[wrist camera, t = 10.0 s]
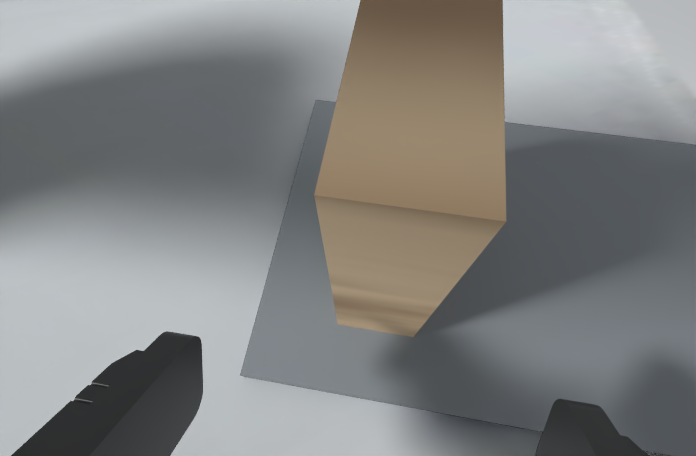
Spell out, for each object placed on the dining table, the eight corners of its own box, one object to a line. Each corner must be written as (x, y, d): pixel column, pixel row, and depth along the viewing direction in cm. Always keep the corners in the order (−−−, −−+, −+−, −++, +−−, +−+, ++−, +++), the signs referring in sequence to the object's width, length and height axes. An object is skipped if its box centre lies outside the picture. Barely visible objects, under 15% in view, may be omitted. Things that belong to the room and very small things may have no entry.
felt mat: (244, 376, 15) (240, 375, 14) (316, 107, 21) (315, 99, 20) (799, 479, 13) (818, 482, 13) (704, 154, 19) (714, 146, 19)
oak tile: (413, 337, 15) (506, 221, 6) (334, 323, 15) (304, 193, 6) (426, 186, 18) (501, -44, 9) (360, 177, 18) (367, -55, 9)
